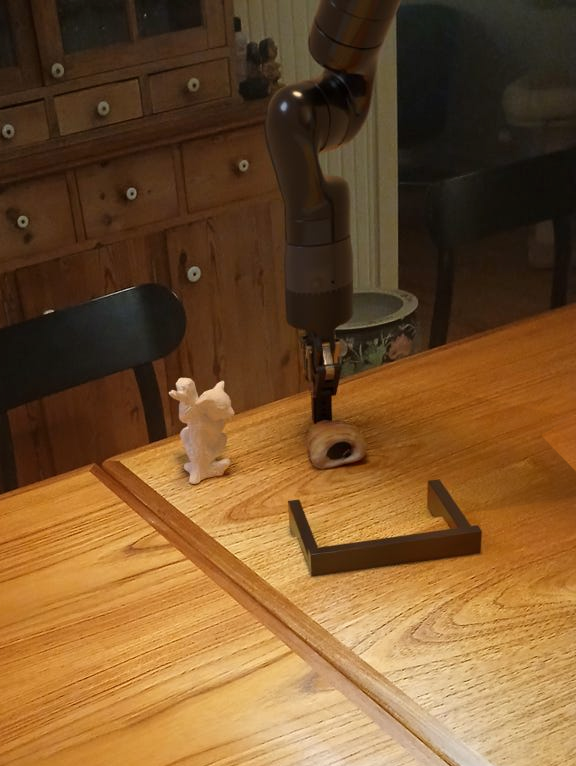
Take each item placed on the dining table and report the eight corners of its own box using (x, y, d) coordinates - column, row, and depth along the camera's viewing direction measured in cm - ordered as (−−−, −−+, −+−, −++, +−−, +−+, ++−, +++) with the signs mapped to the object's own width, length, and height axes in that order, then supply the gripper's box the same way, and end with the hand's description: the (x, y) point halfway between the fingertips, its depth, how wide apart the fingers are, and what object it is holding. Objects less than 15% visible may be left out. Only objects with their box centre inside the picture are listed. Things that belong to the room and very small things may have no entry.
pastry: (298, 440, 120) (297, 410, 118) (354, 432, 120) (354, 402, 118) (312, 472, 112) (311, 441, 110) (372, 464, 112) (372, 432, 110)
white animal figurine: (197, 493, 113) (185, 393, 106) (160, 477, 118) (147, 381, 111) (251, 466, 116) (243, 368, 110) (214, 452, 121) (204, 357, 115)
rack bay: (438, 504, 102) (439, 469, 100) (479, 568, 91) (482, 530, 89) (289, 526, 103) (287, 491, 101) (312, 591, 92) (310, 555, 90)
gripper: (365, 291, 105) (364, 440, 115) (340, 258, 116) (341, 397, 125) (294, 301, 105) (299, 449, 115) (276, 268, 116) (282, 406, 126)
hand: (321, 422), depth 120 cm, fingers closed
